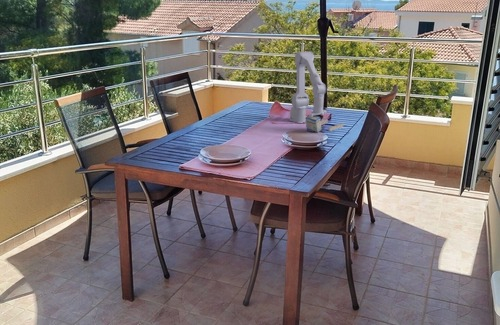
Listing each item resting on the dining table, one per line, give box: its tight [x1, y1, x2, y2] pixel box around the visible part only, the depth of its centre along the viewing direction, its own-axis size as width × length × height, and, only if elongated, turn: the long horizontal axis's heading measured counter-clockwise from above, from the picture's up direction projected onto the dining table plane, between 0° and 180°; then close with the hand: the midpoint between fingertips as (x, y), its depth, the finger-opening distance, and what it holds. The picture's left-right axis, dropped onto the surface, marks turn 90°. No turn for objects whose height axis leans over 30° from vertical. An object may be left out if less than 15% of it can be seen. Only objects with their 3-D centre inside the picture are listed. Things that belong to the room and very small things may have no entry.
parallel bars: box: [321, 119, 344, 132], centre depth 302 cm, size 13×14×2 cm
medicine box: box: [305, 114, 322, 133], centre depth 291 cm, size 8×4×9 cm, turn 49°
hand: (317, 127), depth 294 cm, fingers closed
